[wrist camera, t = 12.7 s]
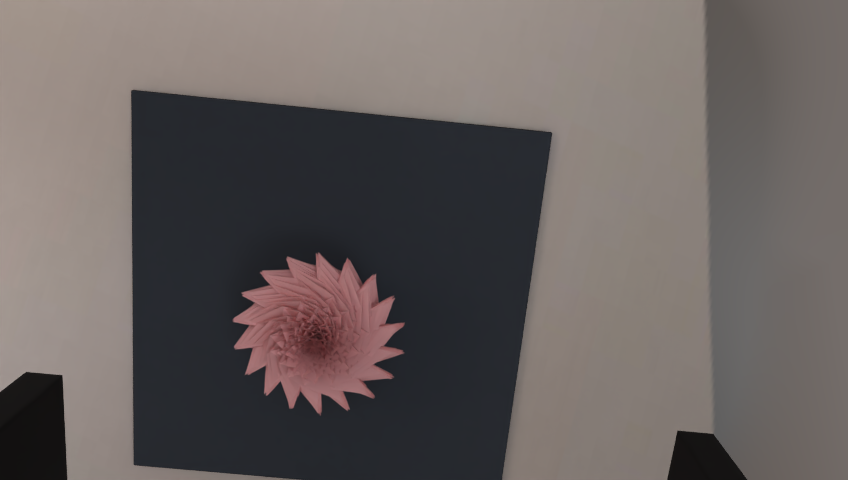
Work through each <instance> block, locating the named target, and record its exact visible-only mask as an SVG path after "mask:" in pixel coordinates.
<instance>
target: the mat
mask: <svg viewBox="0 0 848 480" xmlns="http://www.w3.org/2000/svg"><path fill="white" fill-rule="evenodd" d="M131 101H132V256H133V411H134V465H139V466H150V467H162V468H174V469H185V470H197V471H208V472H220V473H231V474H243V475H254V476H266V477H277V478H289V479H300V480H502V474H503V467H504V460H505V453H506V446H507V440H508V433H509V426H510V419H511V412H512V405H513V398H514V391H515V385H516V378H517V371H518V364H519V357H520V350H521V343H522V337H523V330H524V323H525V316H526V309H527V302H528V295H529V288H530V282H531V275H532V268H533V261H534V254H535V247H536V240H537V233H538V227H539V220H540V213H541V206H542V199H543V192H544V185H545V178H546V172H547V165H548V158H549V151H550V144H551V137H552V133H551V132H543V131H534V130H524V129H514V128H504V127H494V126H484V125H474V124H464V123H454V122H444V121H434V120H425V119H415V118H405V117H395V116H385V115H375V114H365V113H355V112H345V111H335V110H326V109H316V108H306V107H296V106H286V105H276V104H266V103H256V102H246V101H236V100H227V99H217V98H207V97H197V96H187V95H177V94H167V93H157V92H147V91H137V90H132V91H131ZM318 252H319V253H320V254H321V255H322V256H323V257H324V258H325V259H326V260H327V261H328V262H329V263H330V264H331V265H332V266H333V267H335V268H336V269H338V270H340V271H342V269H343V266H344V263H345V262H346V260H347V258H348V259H349V260H350V261H351V263H352V265H353V267H354V269H355V270H356V272H357V274H358V276H359V278H360V280H361V282H362V284H364V283H365V281H366V280H367V279H368V278H370V277H371V276H372V275H375V274H376V285H377V293H378V301H379V303H380V302H381V301H383V300H385V299H387V298H389V297H391V296H394V297H393V298H395V299H394V301H393V303H392V306H391V309H390V312H389V315H388V317H387V320H386V323H385V324H395V323H404V324H405V325H403V327H402V328H401V329H399V330H398V331H397V332H395V333H394V334H393V335H392V336H391V338H390V339H389V340H388V341H387V343H386V344H385V345H384V346H385V347H392V348H396V349H400V350H403V352H404V353H403V354H400V355H397V356H394V357H391V358H388V359H385V360H382V361H379V362H377V363H375V364H374V365H376V366H377V367H379V368H381V369H383V370H385V371H387V372H389V373H391V374H393V375H392V376H394V377H391V378H392V379H378V380H367V381H363V382H364V383H365V384H366V385H367V386H366V387H367V388H368V389H369V390H370V391H371V392H372V393H373V394H374V395H375V396H374V397H375V398H374V397H373V398H370V397H368V396H365V395H363V394H360V393H354V392H346V391H343V392H344V395H345V397H346V400H347V402H348V405H349V408H350V410H349V409H348V411H347V410H346V409H344V408H343V407H342V406H341V405H339V404H338V403H337V402H336V401H334V400H333V399H332V398H331V397H329V396H327V395H324V394H321V400H322V412H321V416H320V414H318V413H317V411H316V410H315V409H314V407H313V406H312V404H311V403H310V402H309V401H308V400H307V398H306V397H305V396H304V395H303V394H302V392H301V391H300V393H299V396H297V399H296V402H295V405H294V408H292V409H291V408H289V404H288V400H287V397H286V394H285V392H284V389H283V386H282V383H281V381H280V382H279V383H278V385H277V386H276V387H275V388H274V389H273V390H272V391H271V392H270V393H269V394H268V395H266V393H265V394H264V388H265V371H266V366H264V367H262V368H260V369H258V370H257V371H255V372H253V373H251V374H249V375H248V374H246V375H245V373H246V370H247V367H248V364H249V360H250V357H251V353H252V350H253V348H245V349H236V348H234V346H235V344H236V343H237V342H238V340H239V339H240V338H241V336H242V335H243V334H244V332H245V331H246V330H247V328H248V327H249V325H247V324H241V323H237V322H233V318H235V317H236V316H238V315H239V314H241V313H242V312H244V311H246V310H247V309H248V308H250V307H251V306H252V305H253V304H254V303H255V302H253V301H251V300H249V299H247V298H245V297H243V296H242V295H244V294H242V293H241V292H245V291H249V290H253V289H257V288H261V287H265V286H268V285H270V284H269V283H268V282H267V281H266V280H265V279H264V277H263V276H262V274H261V273H260V272H262V270H290V268H289V266H288V262H287V259H286V258H287V256H288V257H291V258H293V259H296V260H299V261H302V262H305V263H308V264H312V265H316V253H317V254H318ZM393 298H392V299H393ZM235 349H236V350H235Z"/></svg>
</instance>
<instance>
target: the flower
mask: <svg viewBox="0 0 848 480" xmlns="http://www.w3.org/2000/svg"><path fill="white" fill-rule="evenodd" d="M286 259H287V262H288V266H289V268H290V270H262V272H260V273H261V274H262V276H263V277H264V279H265V280H266V281H267V282H268V283H269V284H270V285H268V286H265V287H261V288H257V289H253V290H249V291H245V292H241V293H242V294H244V295H242V296H243V297H245V298H247V299H249V300H251V301H253V302H255V303H254V304H253V305H252V306H251V307H250V308H248V309H247V310H246V311H244V312H242V313H241V314H239V315H238V316H236V317H235V318H233V322H237V323H241V324H247V325H249V327H248V328H247V330H246V331H245V332H244V334H243V335H242V336H241V338H240V339H239V340H238V342H237V343H236V344H235V346H234V348H236V349H245V348H253V350H252V353H251V357H250V360H249V364H248V367H247V370H246V373H245V375H246V374H248V375H249V374H251V373H253V372H255V371H257V370H258V369H260V368H262V367H264V366H266V371H265V388H264V394H265V393H266V395H268V394H269V393H270V392H271V391H272V390H273V389H274V388H275V387H276V386H277V385H278V383H279V382H280V381H281V383H282V386H283V389H284V392H285V394H286V397H287V400H288V404H289V408H291V409H292V408H294V405H295V402H296V399H297V396H299V393H300V391H301V392H302V394H303V395H304V396H305V397H306V398H307V400H308V401H309V402H310V403H311V404H312V406H313V407H314V409H315V410H316V411H317V413H318V414H320V416H321V412H322V400H321V394H324V395H327V396H329V397H331V398H332V399H333V400H334V401H336V402H337V403H338V404H339V405H341V406H342V407H343V408H344V409H346V410H347V411H348V409H349V410H350V408H349V405H348V402H347V400H346V397H345V395H344V392H343V391H346V392H354V393H360V394H363V395H365V396H368V397H370V398H373V397H374V396H375V395H374V394H373V393H372V392H371V391H370V390H369V389H368V388H367V387H366V386H367V385H366V384H365V383H364V382H363V381H367V380H378V379H392V378H391V377H394V376H392V375H393V374H391V373H389V372H387V371H385V370H383V369H381V368H379V367H377V366H376V365H374V364H375V363H377V362H379V361H382V360H385V359H388V358H391V357H394V356H397V355H400V354H403V353H404V352H403V350H400V349H396V348H392V347H385V346H384V345H385V344H386V343H387V341H388V340H389V339H390V338H391V336H392V335H393V334H394V333H395V332H397V331H398V330H399V329H401V328H402V327H403V325H405V324H404V323H395V324H385V323H386V320H387V317H388V315H389V312H390V309H391V306H392V303H393V301H394V299H395V298H393V297H394V296H391V297H389V298H387V299H385V300H383V301H381V302H380V303H379V301H378V293H377V285H376V274H375V275H372V276H371V277H370V278H368V279H367V280H366V281H365V283H364V284H362V282H361V280H360V278H359V276H358V274H357V272H356V270H355V269H354V267H353V265H352V263H351V261H350V260H349V259H348V258H347V260H346V262H345V263H344V266H343V269H342V271H340V270H338V269H336V268H335V267H333V266H332V265H331V264H330V263H329V262H328V261H327V260H326V259H325V258H324V257H323V256H322V255H321V254H320V253H319V252H318V254H317V253H316V265H312V264H308V263H305V262H302V261H299V260H296V259H293V258H291V257H288V256H287V258H286ZM392 298H393V299H392ZM236 349H235V350H236ZM374 398H375V397H374Z"/></svg>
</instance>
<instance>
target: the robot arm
mask: <svg viewBox="0 0 848 480" xmlns="http://www.w3.org/2000/svg"><path fill="white" fill-rule="evenodd" d="M0 480H67V465H66V443H65V422H64V400H63V378H62V375H53V374H41V373H30V372H26V373H24V374H23V375H22V376H20V377H19V378H18V379H17V380H15V381H14V382H13V383H11V384H10V385H9V386H7V387H6V388H5V389H4V390H2V391H1V392H0ZM667 480H747V479H746V477H745V476H744V475H743V473H742V472H741V471H740V469H739V468H738V467H737V465H736V464H735V463H734V461H733V460H732V459H731V457H730V456H729V455H728V453H727V452H726V451H725V449H724V448H723V447H722V445H721V444H720V443H719V441H718V440H717V439H716V437H715V436H714V434H708V433H697V432H686V431H677V436H676V441H675V446H674V451H673V455H672V460H671V465H670V470H669V474H668V479H667Z"/></svg>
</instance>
